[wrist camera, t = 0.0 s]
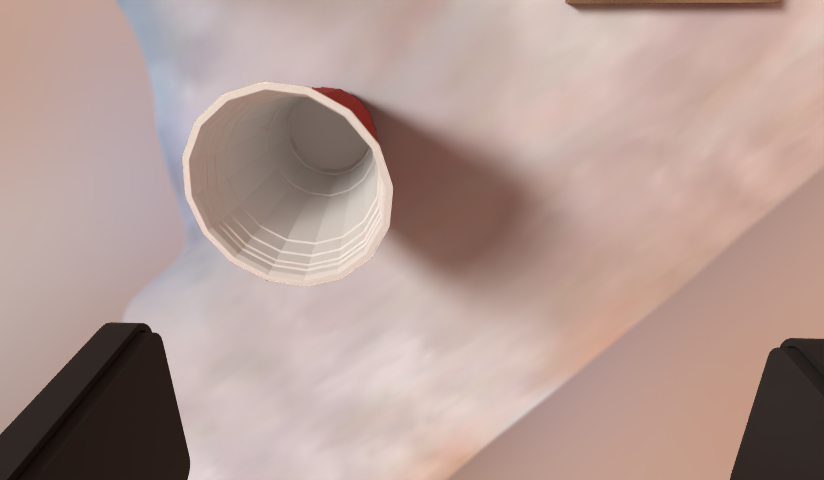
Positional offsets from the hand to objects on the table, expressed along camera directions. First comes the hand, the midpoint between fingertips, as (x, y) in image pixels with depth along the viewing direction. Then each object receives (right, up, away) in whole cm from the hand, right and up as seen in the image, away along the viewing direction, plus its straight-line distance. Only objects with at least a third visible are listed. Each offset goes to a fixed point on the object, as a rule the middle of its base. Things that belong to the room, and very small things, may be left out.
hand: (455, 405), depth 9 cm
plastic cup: (-6, +10, +30) cm, 33 cm away
